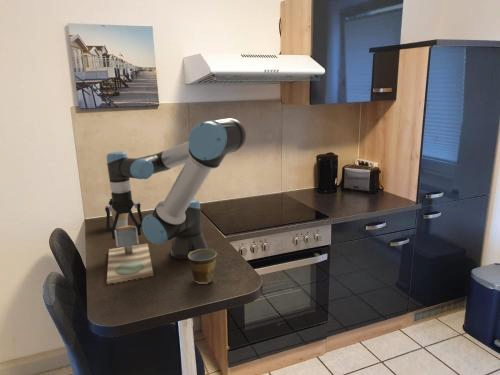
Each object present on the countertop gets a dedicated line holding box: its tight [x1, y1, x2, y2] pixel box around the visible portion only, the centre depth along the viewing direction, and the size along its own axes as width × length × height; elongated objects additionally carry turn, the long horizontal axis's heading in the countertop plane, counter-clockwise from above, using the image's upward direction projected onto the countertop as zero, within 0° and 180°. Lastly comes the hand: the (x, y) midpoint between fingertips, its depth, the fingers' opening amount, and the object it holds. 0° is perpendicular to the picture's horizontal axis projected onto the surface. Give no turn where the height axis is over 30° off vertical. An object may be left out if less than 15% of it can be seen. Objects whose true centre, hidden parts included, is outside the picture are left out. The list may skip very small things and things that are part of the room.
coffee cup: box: [108, 198, 129, 230], centre depth 193 cm, size 9×9×15 cm
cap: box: [115, 225, 138, 248], centre depth 157 cm, size 7×7×7 cm
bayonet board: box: [106, 242, 154, 285], centre depth 151 cm, size 30×16×10 cm, turn 18°
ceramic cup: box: [187, 248, 217, 282], centre depth 136 cm, size 13×10×10 cm
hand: (127, 244), depth 158 cm, fingers closed on cap, 7 cm apart
